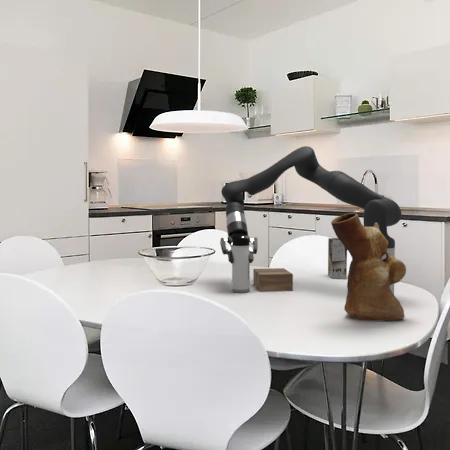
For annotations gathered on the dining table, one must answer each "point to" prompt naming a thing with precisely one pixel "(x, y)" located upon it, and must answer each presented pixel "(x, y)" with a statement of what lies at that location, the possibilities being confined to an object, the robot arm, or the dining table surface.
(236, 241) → the travel mug
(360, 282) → the ceramic vessel
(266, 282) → the walnut block
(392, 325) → the dining table surface
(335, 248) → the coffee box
